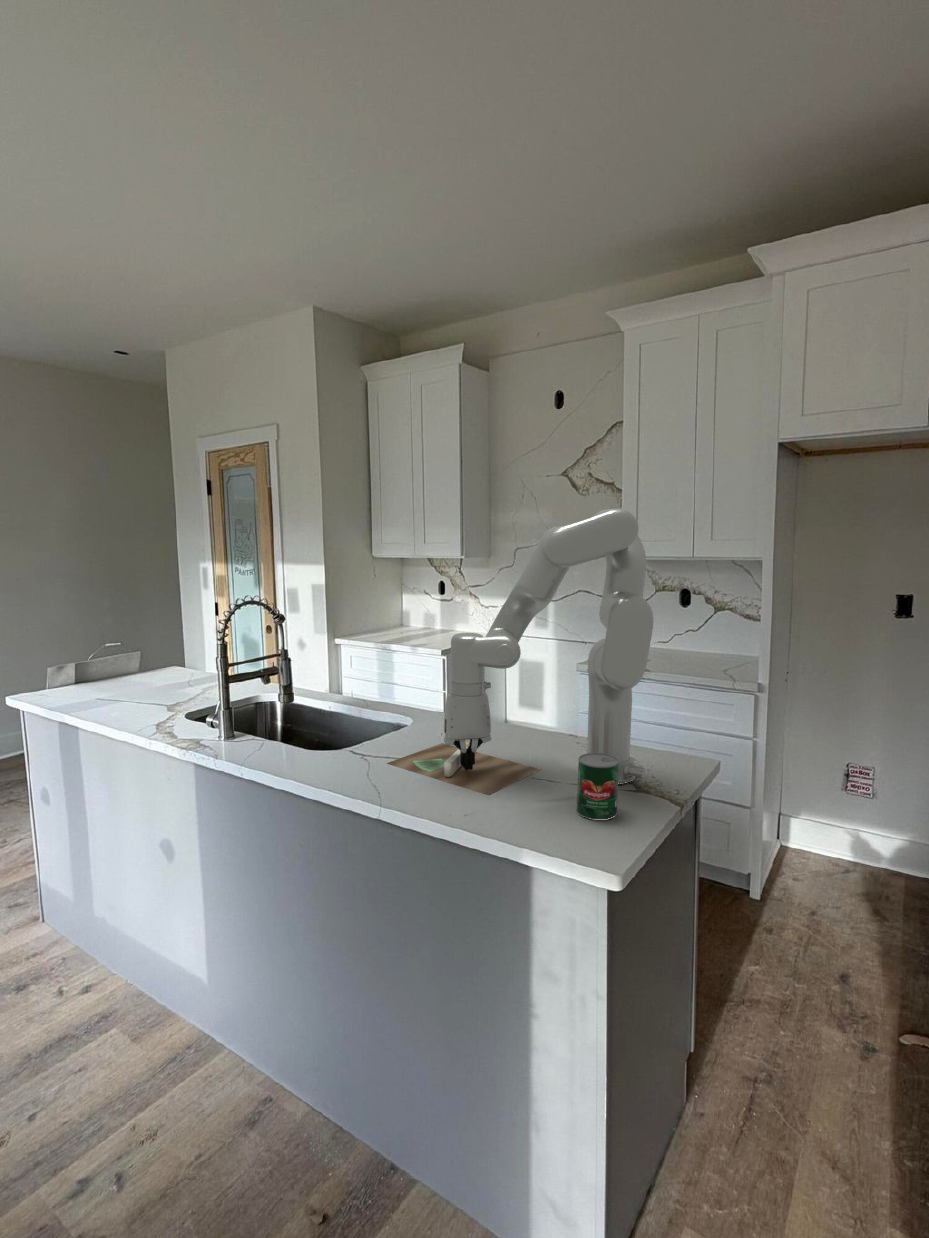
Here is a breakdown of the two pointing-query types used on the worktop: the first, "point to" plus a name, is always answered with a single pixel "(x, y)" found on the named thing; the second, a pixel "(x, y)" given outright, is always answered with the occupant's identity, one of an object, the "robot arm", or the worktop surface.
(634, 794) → the worktop surface
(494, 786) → the dial board
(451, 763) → the pointer
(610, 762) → the canned tomato
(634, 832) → the worktop surface
